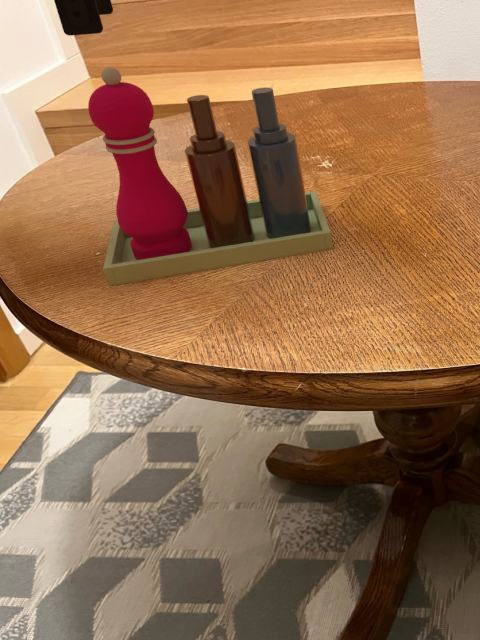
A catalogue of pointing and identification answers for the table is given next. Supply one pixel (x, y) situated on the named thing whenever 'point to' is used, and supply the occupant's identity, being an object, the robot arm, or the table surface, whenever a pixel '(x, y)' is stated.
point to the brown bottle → (217, 179)
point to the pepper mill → (139, 170)
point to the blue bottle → (277, 171)
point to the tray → (203, 257)
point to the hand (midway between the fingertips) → (91, 23)
